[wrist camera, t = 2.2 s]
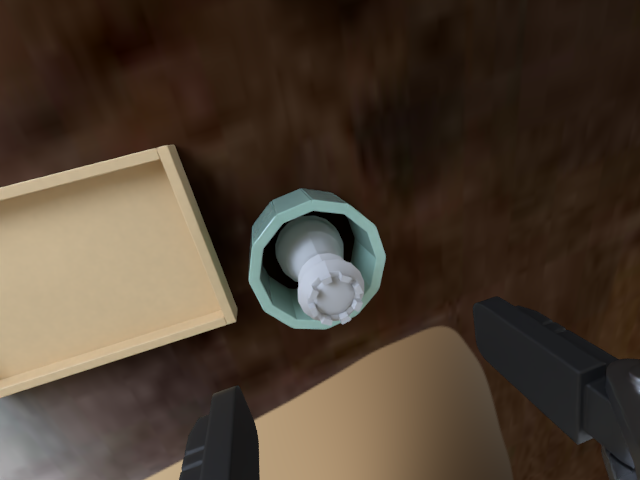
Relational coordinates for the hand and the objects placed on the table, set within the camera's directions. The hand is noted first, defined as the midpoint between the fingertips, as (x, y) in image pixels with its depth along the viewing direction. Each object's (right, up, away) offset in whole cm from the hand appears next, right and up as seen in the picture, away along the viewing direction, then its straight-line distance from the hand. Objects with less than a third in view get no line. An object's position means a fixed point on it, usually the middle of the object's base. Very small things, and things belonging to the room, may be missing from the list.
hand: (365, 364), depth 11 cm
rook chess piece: (-2, +4, +12) cm, 12 cm away
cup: (-2, +4, +11) cm, 12 cm away
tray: (-16, +2, +9) cm, 19 cm away
